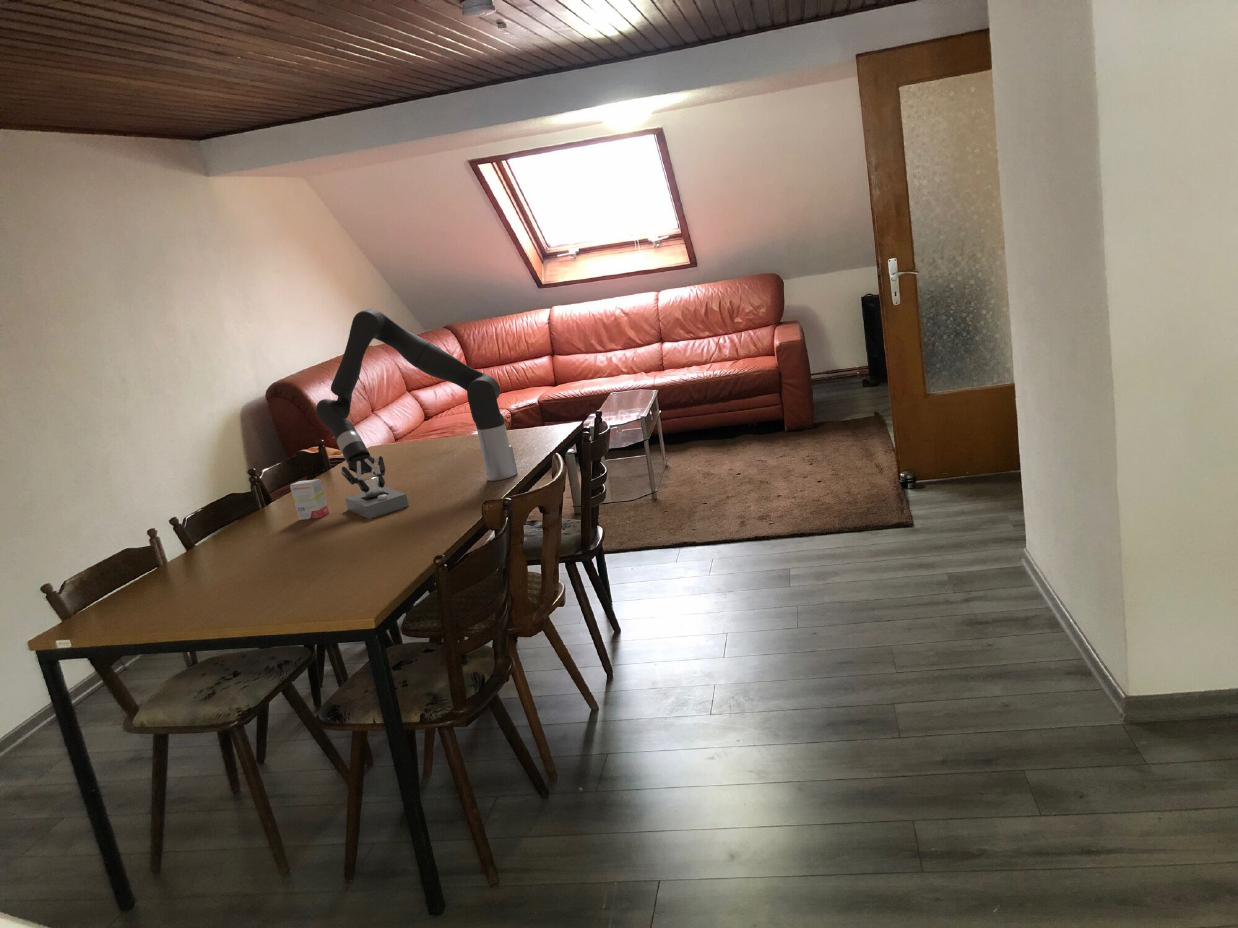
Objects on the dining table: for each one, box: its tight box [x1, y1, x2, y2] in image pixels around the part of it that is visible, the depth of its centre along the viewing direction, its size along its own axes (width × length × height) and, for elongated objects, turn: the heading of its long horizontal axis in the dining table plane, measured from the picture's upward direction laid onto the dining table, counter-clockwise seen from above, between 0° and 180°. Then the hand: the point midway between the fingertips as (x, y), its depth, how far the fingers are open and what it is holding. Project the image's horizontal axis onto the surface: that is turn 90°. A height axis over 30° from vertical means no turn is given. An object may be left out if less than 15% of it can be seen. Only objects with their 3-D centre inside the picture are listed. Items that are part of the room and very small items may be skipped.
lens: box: [361, 475, 383, 501], centre depth 299 cm, size 5×5×8 cm
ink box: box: [289, 478, 330, 521], centre depth 303 cm, size 9×5×12 cm, turn 74°
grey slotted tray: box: [344, 486, 410, 520], centre depth 300 cm, size 13×20×5 cm, turn 35°
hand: (374, 488), depth 298 cm, fingers closed on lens, 5 cm apart
